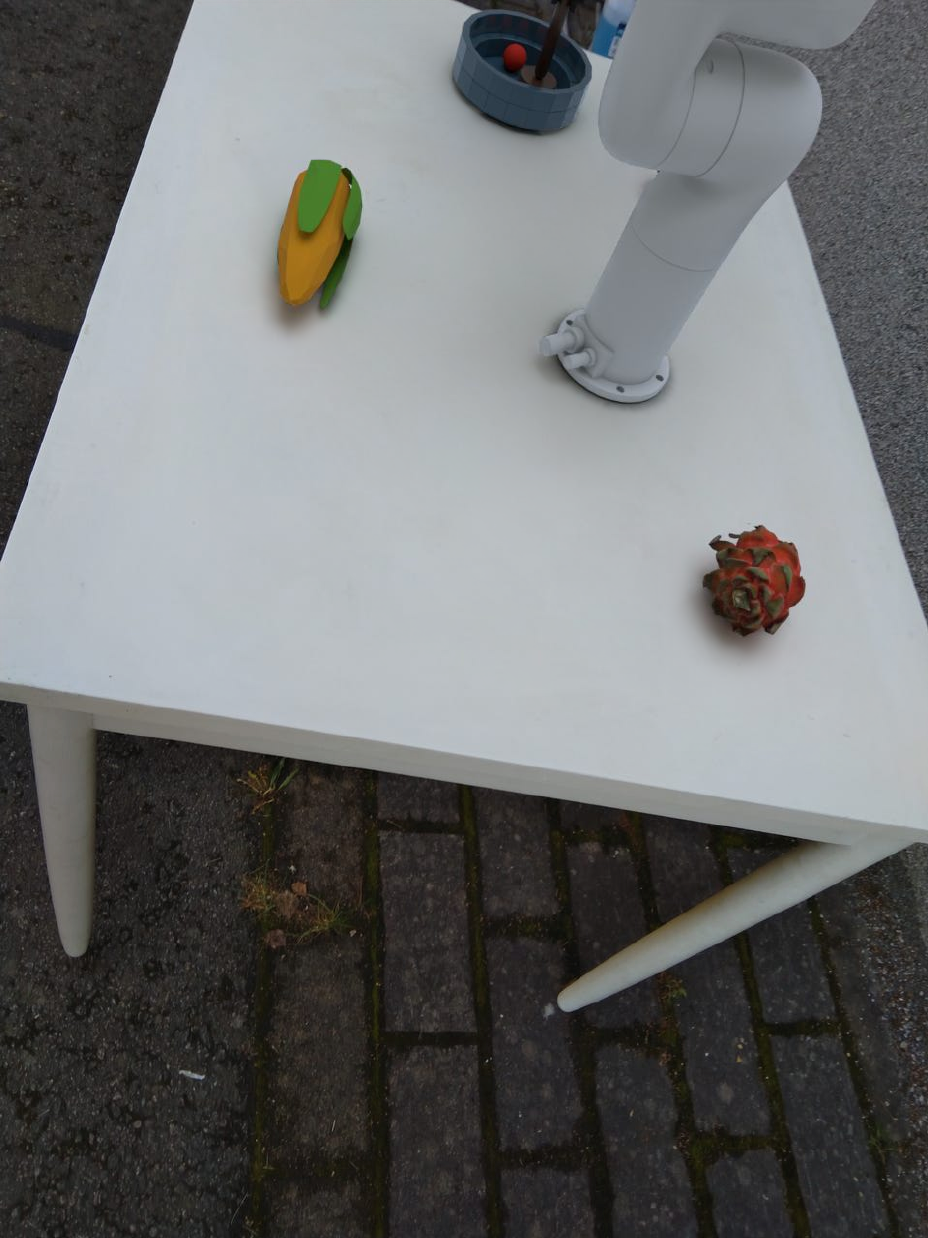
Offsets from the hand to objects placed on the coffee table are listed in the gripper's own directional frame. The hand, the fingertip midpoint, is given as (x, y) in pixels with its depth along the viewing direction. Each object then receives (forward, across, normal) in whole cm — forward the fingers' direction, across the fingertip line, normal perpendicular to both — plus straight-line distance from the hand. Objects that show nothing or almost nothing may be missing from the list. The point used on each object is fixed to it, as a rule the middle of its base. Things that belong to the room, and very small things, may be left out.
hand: (564, 2), depth 105 cm
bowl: (+12, -2, 0) cm, 12 cm away
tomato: (+10, -4, +4) cm, 11 cm away
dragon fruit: (+12, +34, -66) cm, 75 cm away
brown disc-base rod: (+10, 0, 0) cm, 10 cm away
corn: (+12, -14, -44) cm, 48 cm away
